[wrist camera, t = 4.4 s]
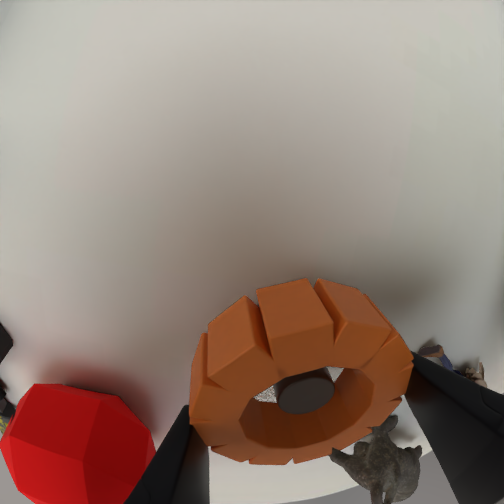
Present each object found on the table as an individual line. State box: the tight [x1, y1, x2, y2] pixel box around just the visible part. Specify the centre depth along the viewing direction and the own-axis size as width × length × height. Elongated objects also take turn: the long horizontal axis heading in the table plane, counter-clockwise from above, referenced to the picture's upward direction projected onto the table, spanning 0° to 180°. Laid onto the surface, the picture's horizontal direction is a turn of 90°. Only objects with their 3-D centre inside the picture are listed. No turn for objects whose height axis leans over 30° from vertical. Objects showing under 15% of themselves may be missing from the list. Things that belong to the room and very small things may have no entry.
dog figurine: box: [328, 416, 422, 504], centre depth 15 cm, size 12×6×7 cm, turn 41°
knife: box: [0, 325, 16, 434], centre depth 13 cm, size 23×2×5 cm
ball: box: [0, 384, 156, 504], centre depth 10 cm, size 8×8×8 cm
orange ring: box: [189, 278, 414, 465], centre depth 9 cm, size 7×7×2 cm
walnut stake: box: [273, 367, 335, 414], centre depth 11 cm, size 3×3×4 cm
